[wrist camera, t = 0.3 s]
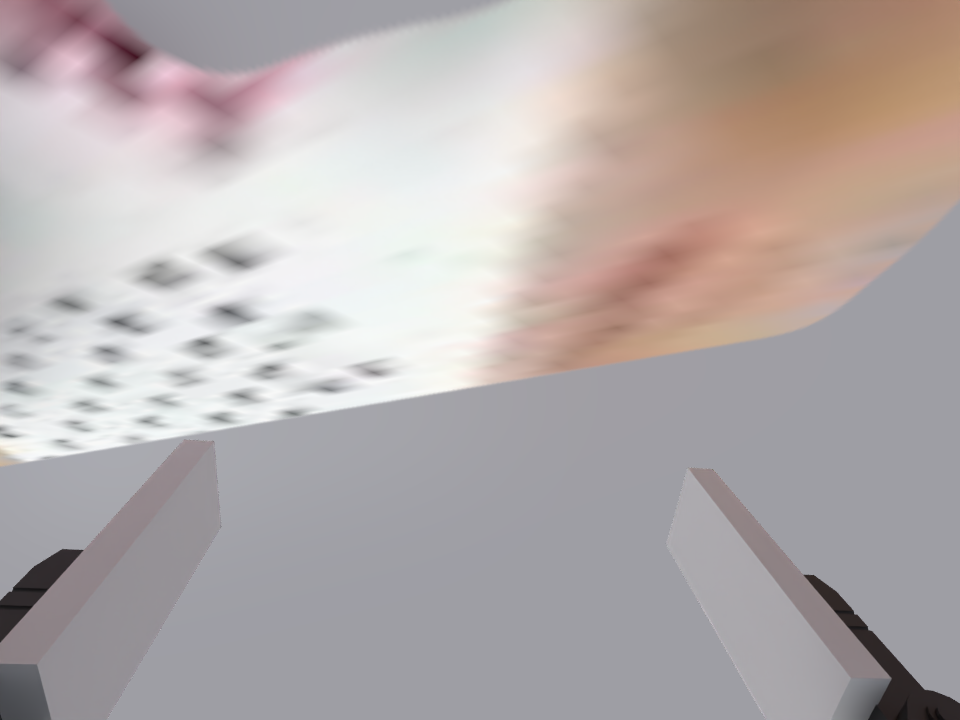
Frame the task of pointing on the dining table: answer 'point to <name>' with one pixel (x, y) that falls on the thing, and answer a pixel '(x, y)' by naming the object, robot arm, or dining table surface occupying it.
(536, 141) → the dining table surface
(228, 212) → the dining table surface
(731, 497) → the robot arm
